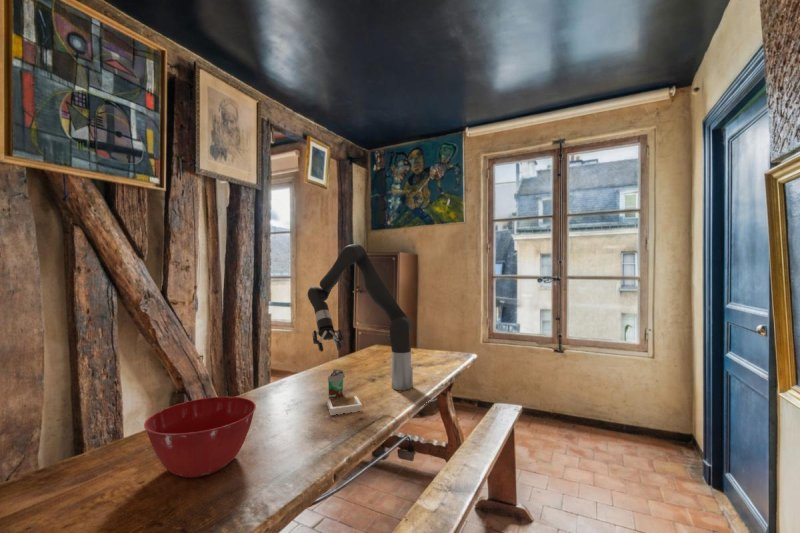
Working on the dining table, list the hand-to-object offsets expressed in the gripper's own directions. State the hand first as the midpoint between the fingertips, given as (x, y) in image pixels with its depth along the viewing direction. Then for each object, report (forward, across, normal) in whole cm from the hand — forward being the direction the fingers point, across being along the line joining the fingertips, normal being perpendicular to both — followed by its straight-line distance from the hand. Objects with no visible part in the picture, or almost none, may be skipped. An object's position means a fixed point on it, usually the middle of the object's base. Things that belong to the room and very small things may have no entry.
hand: (330, 350), depth 175 cm
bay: (+31, -4, -9) cm, 32 cm away
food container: (+21, 0, +3) cm, 21 cm away
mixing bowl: (+44, -56, -20) cm, 73 cm away
